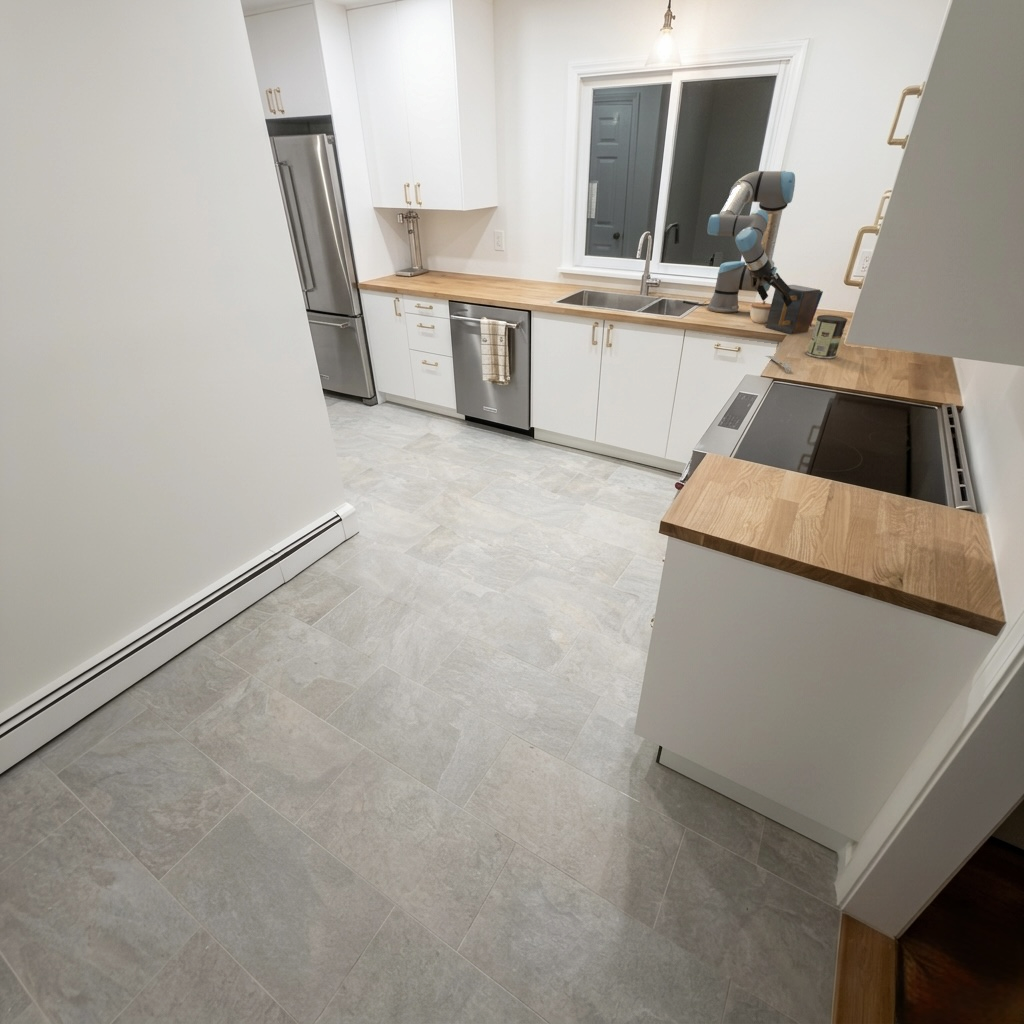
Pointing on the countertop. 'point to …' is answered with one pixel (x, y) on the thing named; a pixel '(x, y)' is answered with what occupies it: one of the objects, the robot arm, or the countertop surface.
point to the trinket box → (760, 312)
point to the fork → (781, 363)
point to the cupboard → (805, 308)
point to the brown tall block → (817, 304)
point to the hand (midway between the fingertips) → (777, 301)
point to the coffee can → (826, 336)
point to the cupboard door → (784, 312)
